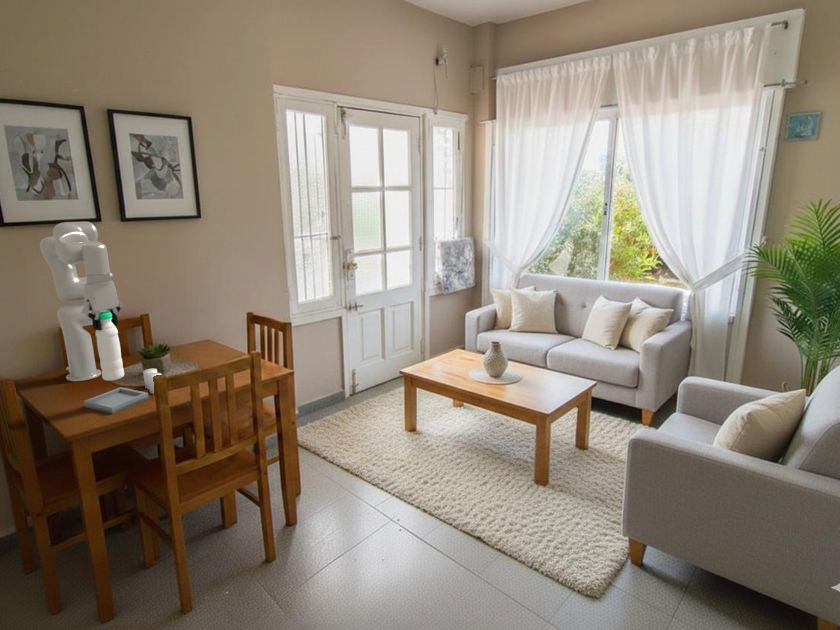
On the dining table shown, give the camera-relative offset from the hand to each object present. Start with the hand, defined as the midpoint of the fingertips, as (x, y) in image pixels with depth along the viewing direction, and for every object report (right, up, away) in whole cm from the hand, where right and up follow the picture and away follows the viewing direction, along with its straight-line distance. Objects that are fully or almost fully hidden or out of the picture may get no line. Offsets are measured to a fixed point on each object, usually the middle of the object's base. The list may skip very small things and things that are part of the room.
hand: (106, 327), depth 186 cm
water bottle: (0, -19, +5) cm, 20 cm away
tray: (0, -29, +7) cm, 30 cm away
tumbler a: (+9, -26, +18) cm, 33 cm away
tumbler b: (+5, -25, +23) cm, 34 cm away
